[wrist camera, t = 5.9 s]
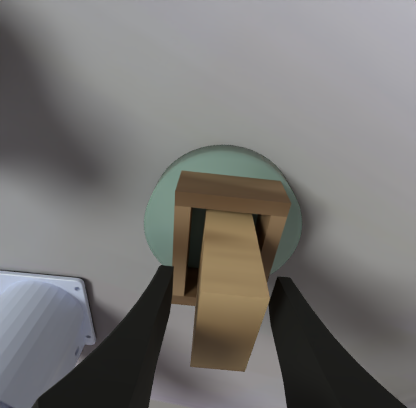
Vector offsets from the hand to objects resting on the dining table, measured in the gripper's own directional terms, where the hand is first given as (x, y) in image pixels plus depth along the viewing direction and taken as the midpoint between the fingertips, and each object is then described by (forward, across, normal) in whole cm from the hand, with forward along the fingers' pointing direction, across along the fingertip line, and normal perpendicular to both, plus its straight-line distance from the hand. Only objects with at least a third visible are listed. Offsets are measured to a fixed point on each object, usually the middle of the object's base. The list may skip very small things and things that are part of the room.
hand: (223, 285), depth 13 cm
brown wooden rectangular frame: (+4, 0, 0) cm, 4 cm away
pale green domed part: (+7, 0, 0) cm, 7 cm away
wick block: (+4, 0, 0) cm, 4 cm away
